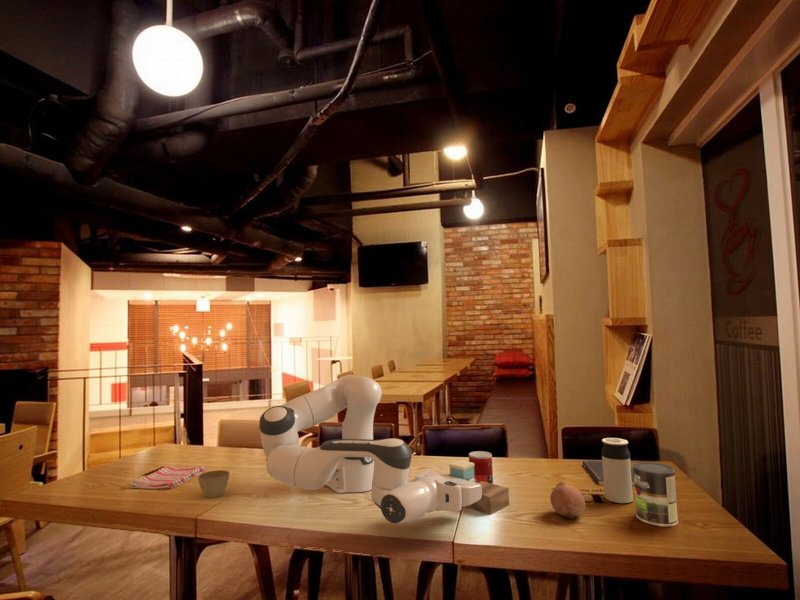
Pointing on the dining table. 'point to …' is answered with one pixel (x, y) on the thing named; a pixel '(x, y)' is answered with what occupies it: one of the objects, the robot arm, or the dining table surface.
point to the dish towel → (167, 477)
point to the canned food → (482, 466)
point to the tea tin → (462, 469)
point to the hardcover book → (600, 471)
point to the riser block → (491, 498)
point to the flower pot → (213, 482)
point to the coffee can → (655, 494)
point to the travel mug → (617, 470)
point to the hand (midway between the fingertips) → (464, 478)
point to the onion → (567, 500)
